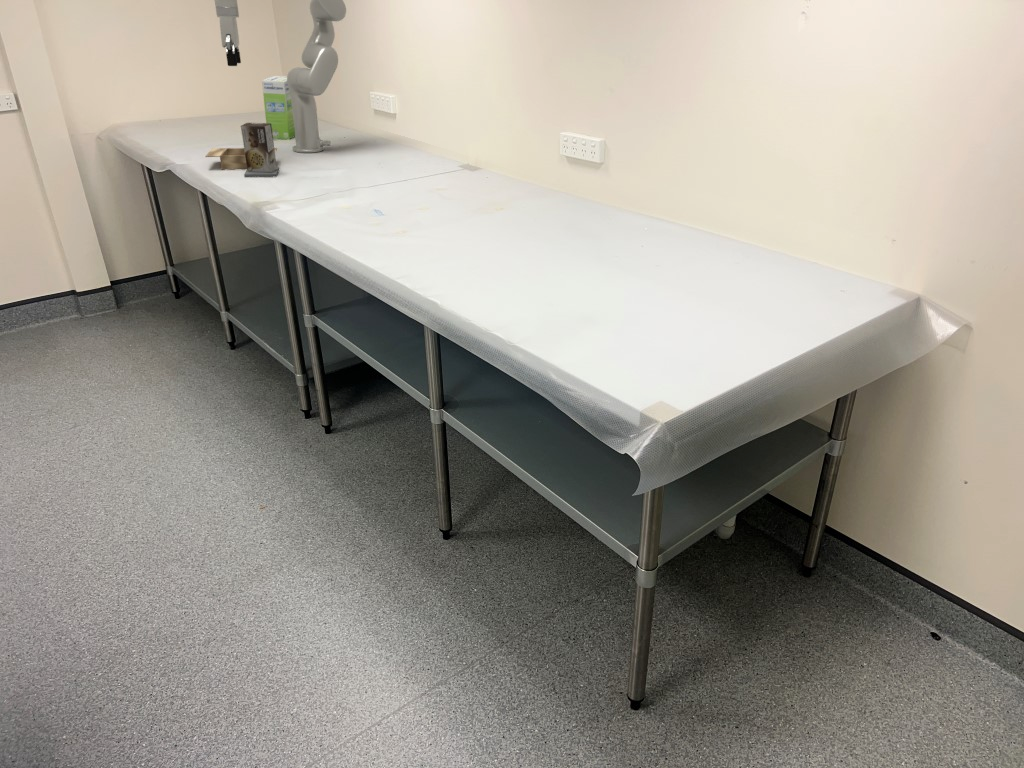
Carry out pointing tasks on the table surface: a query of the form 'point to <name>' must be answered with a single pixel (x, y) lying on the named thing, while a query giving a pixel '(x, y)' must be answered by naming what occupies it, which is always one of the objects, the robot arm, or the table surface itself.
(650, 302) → the table surface
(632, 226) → the table surface
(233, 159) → the carton
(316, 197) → the table surface
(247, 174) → the mat
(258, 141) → the coffee box
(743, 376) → the table surface
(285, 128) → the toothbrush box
